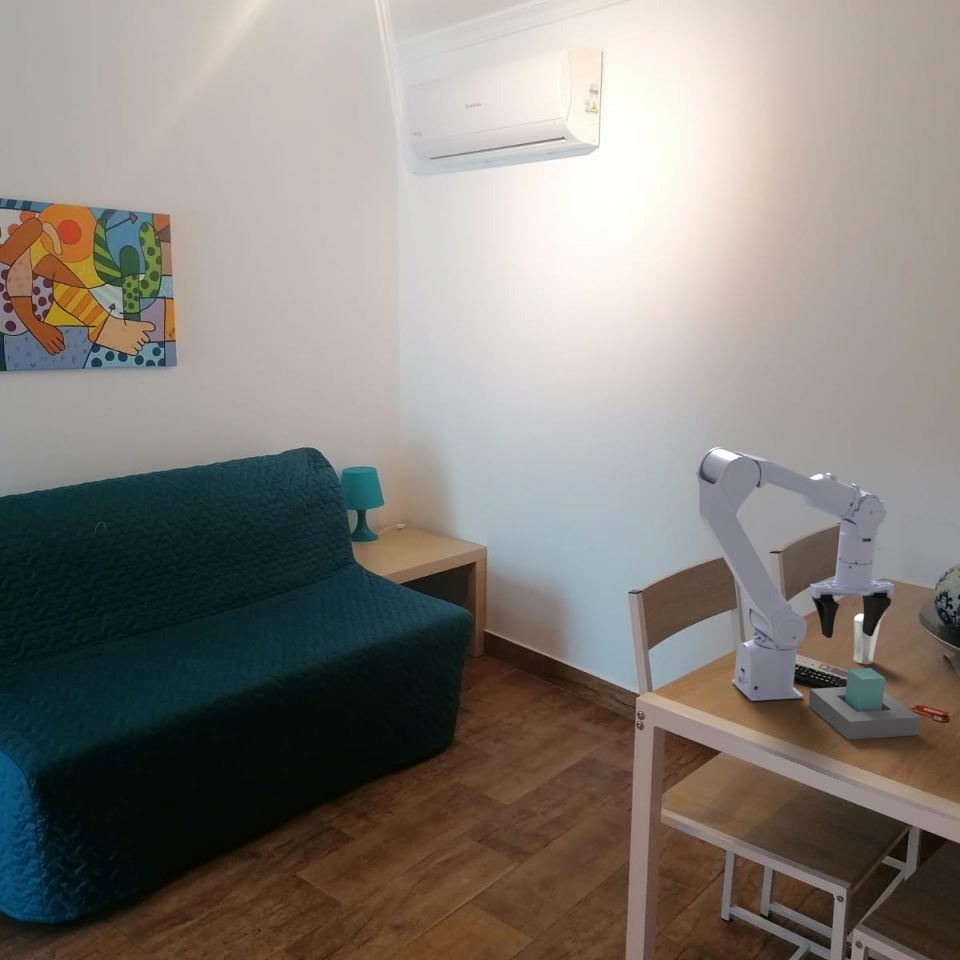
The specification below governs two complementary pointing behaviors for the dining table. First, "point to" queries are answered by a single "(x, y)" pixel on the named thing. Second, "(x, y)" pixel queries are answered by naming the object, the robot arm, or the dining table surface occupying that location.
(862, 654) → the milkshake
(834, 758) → the dining table surface
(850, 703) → the peg
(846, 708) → the socket block
